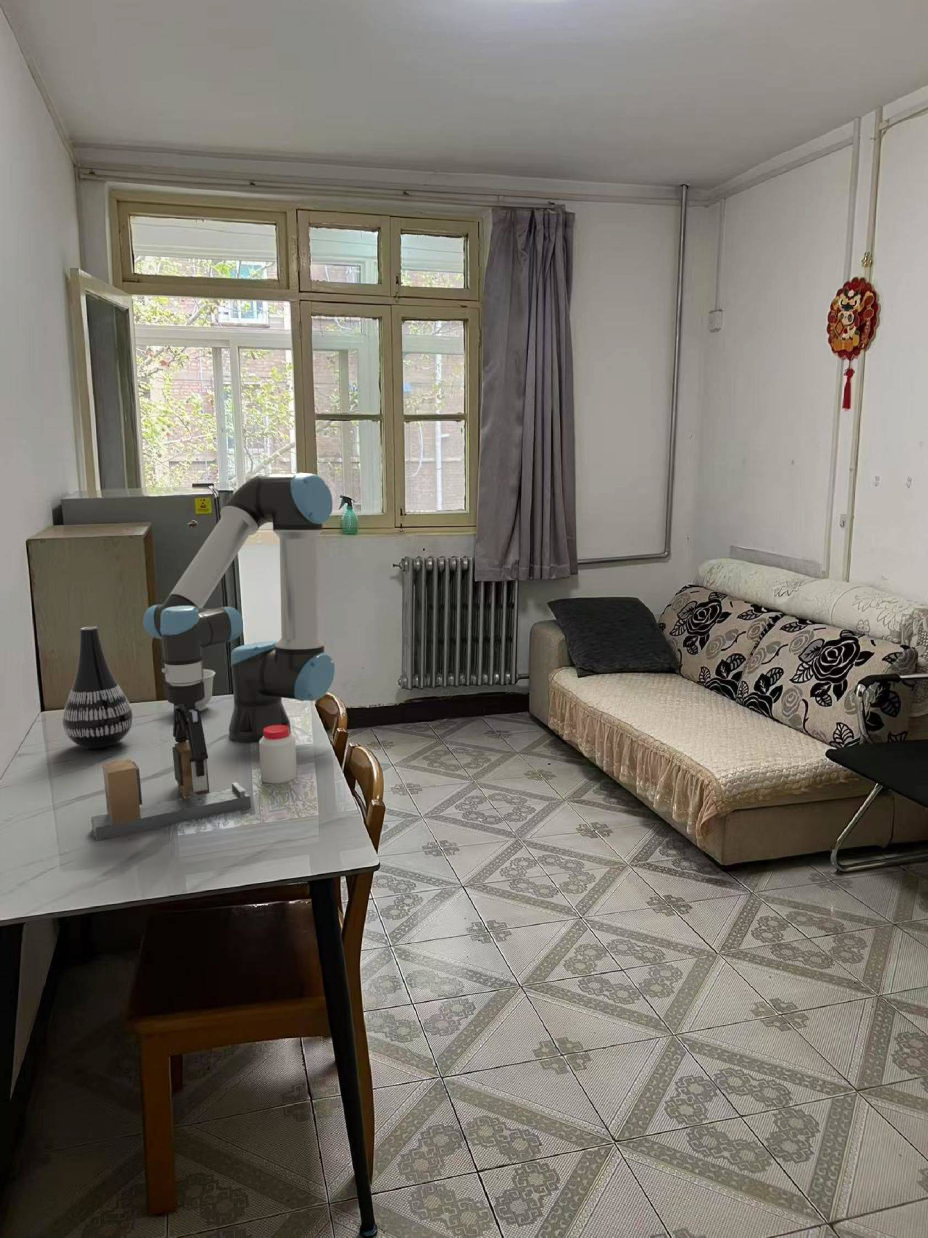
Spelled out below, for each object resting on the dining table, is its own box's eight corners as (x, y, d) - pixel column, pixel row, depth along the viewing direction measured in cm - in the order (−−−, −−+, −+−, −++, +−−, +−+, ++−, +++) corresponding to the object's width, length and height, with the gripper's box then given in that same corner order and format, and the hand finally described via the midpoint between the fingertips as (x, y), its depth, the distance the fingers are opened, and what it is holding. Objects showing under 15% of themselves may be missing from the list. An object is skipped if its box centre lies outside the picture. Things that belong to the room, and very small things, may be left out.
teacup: (160, 717, 249) (156, 681, 247) (185, 702, 264) (182, 668, 262) (202, 718, 247) (199, 682, 245) (225, 703, 262) (222, 669, 260)
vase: (135, 732, 236) (124, 619, 231) (134, 751, 221) (123, 630, 216) (68, 740, 231) (56, 625, 226) (62, 760, 216) (49, 636, 211)
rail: (242, 798, 189) (238, 739, 187) (251, 807, 184) (246, 747, 182) (92, 829, 175) (85, 766, 173) (96, 840, 170) (90, 776, 168)
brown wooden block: (202, 784, 198) (198, 739, 196) (209, 792, 193) (205, 747, 191) (175, 789, 195) (171, 744, 193) (182, 798, 190) (178, 752, 188)
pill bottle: (304, 773, 203) (301, 725, 201) (283, 785, 196) (280, 735, 194) (275, 769, 206) (272, 721, 204) (254, 780, 199) (250, 731, 197)
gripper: (153, 672, 199) (161, 767, 202) (179, 697, 177) (188, 802, 181) (188, 667, 202) (196, 761, 206) (218, 691, 181) (226, 795, 185)
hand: (192, 780), depth 194 cm, fingers open, 12 cm apart
